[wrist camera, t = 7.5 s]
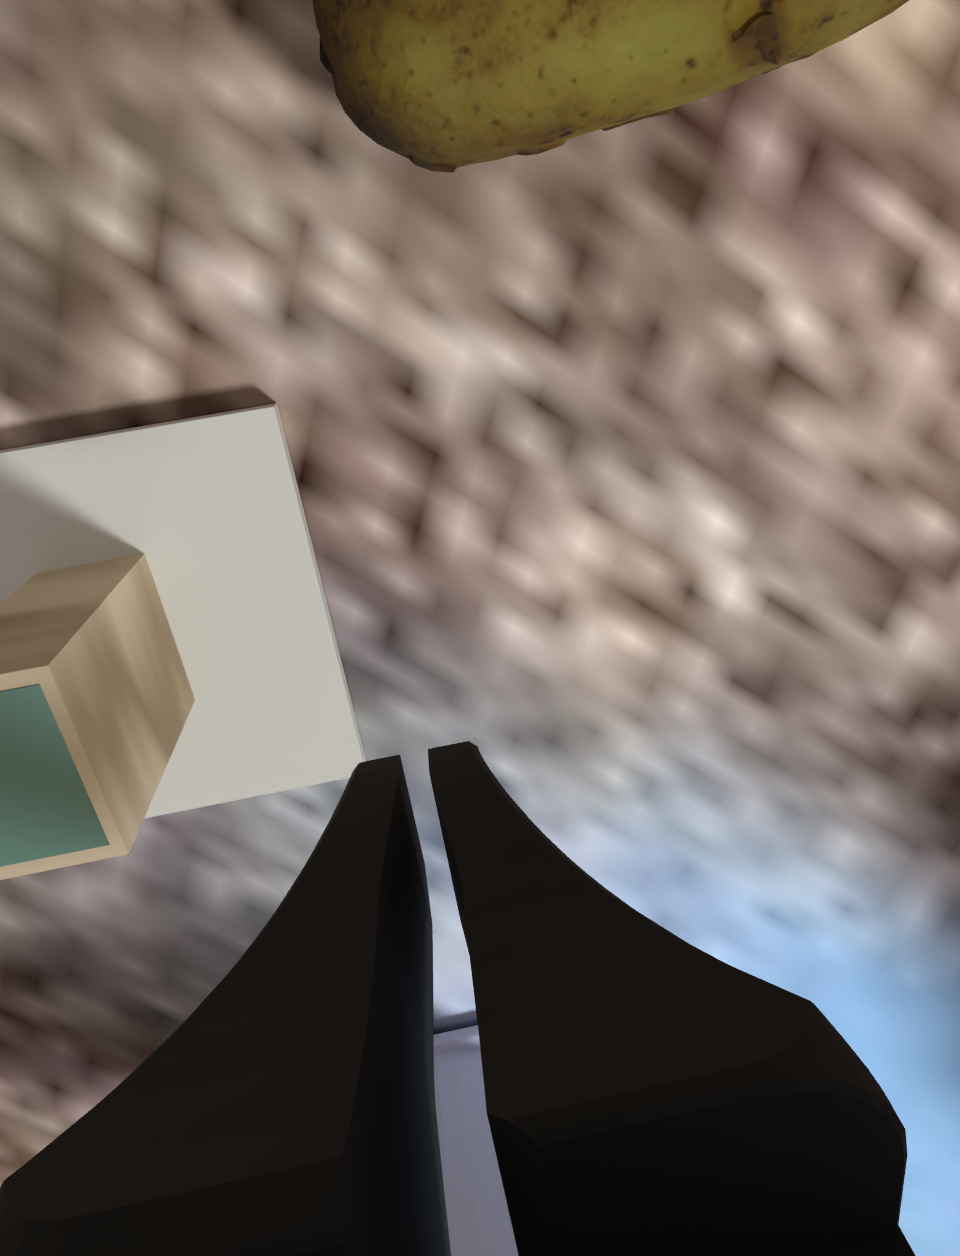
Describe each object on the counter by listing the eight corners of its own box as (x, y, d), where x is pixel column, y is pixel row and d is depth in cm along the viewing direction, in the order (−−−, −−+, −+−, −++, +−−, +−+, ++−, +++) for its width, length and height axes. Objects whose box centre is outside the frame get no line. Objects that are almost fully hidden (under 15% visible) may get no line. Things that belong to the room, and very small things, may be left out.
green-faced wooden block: (195, 699, 20) (128, 855, 14) (96, 718, 20) (-9, 882, 14) (144, 553, 18) (47, 665, 13) (37, 572, 18) (-108, 695, 13)
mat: (366, 762, 22) (366, 774, 21) (-140, 862, 21) (-154, 877, 21) (276, 402, 18) (273, 406, 17) (-356, 510, 17) (-380, 517, 17)
